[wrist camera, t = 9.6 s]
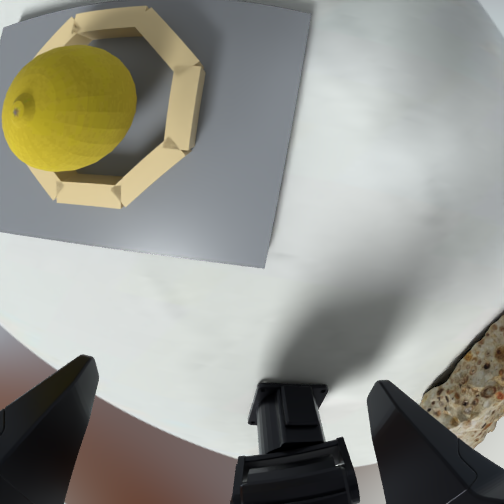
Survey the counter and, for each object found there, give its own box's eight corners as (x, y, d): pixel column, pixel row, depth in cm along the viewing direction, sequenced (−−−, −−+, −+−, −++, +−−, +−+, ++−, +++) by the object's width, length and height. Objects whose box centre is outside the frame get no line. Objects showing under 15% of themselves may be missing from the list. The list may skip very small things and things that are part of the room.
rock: (512, 274, 23) (573, 324, 14) (516, 311, 30) (558, 349, 22) (390, 416, 27) (435, 480, 19) (427, 416, 34) (460, 460, 26)
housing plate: (262, 257, 19) (267, 286, 16) (5, 223, 17) (-22, 241, 14) (305, 21, 13) (320, 2, 10) (15, 30, 11) (-15, 24, 8)
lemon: (52, 105, 13) (-47, 117, 6) (122, 40, 12) (42, -2, 5) (99, 174, 15) (13, 225, 8) (175, 113, 14) (119, 113, 7)
